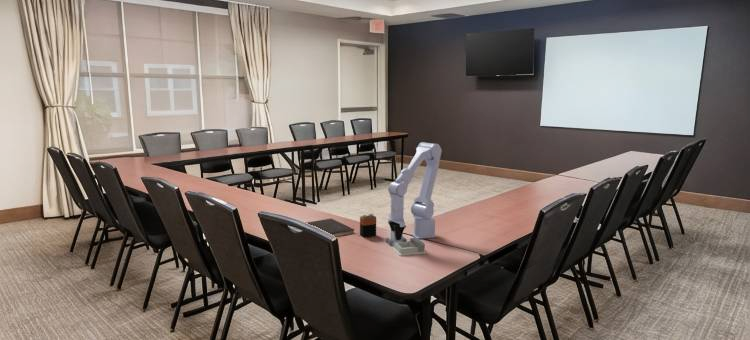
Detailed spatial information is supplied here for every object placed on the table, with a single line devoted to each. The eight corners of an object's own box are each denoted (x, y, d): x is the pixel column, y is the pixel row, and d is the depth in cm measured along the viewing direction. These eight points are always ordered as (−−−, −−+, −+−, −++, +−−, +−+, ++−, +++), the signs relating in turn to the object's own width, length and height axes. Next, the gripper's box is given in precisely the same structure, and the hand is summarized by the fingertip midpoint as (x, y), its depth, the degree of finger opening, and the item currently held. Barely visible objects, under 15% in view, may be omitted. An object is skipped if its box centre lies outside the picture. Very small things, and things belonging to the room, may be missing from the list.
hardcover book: (331, 222, 234) (331, 218, 234) (354, 234, 216) (354, 229, 215) (303, 227, 225) (303, 223, 225) (325, 239, 207) (325, 234, 206)
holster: (402, 240, 205) (402, 236, 205) (406, 243, 201) (406, 239, 200) (386, 241, 203) (386, 237, 203) (389, 245, 198) (389, 241, 198)
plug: (398, 239, 204) (399, 228, 203) (402, 242, 200) (402, 230, 200) (390, 240, 203) (390, 229, 202) (393, 243, 199) (394, 231, 198)
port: (417, 245, 198) (417, 236, 198) (426, 253, 189) (426, 243, 188) (391, 248, 195) (391, 238, 194) (399, 255, 185) (400, 245, 185)
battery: (376, 235, 212) (376, 215, 210) (363, 237, 209) (363, 216, 207) (372, 233, 216) (372, 212, 214) (359, 234, 213) (359, 214, 211)
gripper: (383, 205, 205) (382, 234, 207) (394, 213, 191) (393, 244, 193) (397, 204, 207) (397, 232, 209) (409, 212, 193) (409, 242, 196)
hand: (396, 238), depth 201 cm, fingers closed on plug, 4 cm apart
